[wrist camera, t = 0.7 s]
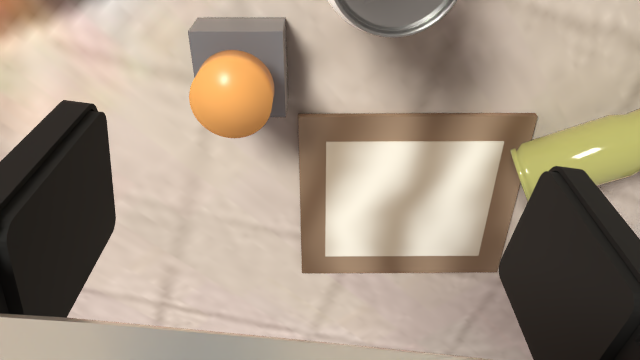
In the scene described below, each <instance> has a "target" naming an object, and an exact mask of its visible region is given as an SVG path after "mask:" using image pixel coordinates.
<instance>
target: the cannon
mask: <svg viewBox="0 0 640 360" xmlns="http://www.w3.org/2000/svg"><path fill="white" fill-rule="evenodd" d="M510 151H511V155H512V158H513V161H514V164H515V167H516V170H517V173H518V176H519V179H520V182H521V185H522V187H523V190H524V193H525V196H526V198H527V201H529V199H530V197H531V194H532V192H533V190H534V188H535V186H536V184H537V182H538V179H539V177H540V176H541V174H542V173H543V172H545V171H549V170H550V169H551V168H552V167H554V166H561V167H568V168H576V169H582V170H584V171H585V172H586V173H587V174H588V176H589V177H590V178H591V179H592V181H593V182H594V183H595V184H596V186H598V185H601V184H605V183H609V182H612V181H616V180H619V179H623V178H627V177H630V176H633V175H634V174H636V173H637V172H639V171H640V109H637V110H634V111H632V112H629V113H627V114H624V115H608V116H604V117H601V118H598V119H595V120H592V121H589V122H586V123H583V124H580V125H577V126H574V127H570V128H567V129H564V130H561V131H558V132H555V133H552V134H549V135H546V136H543V137H540V138H537V139H533V140H530V141H527V142H524V143H521V145H520V146H519V148H518V149H517V151H516V148H513V149H510Z"/></svg>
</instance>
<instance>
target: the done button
mask: <svg viewBox="0 0 640 360" xmlns="http://www.w3.org/2000/svg"><path fill="white" fill-rule="evenodd" d="M273 97H274V82H273V78H272V76H271V73H270V71H269V70H268V68H267V67H266V66H265V64H264V63H263V62H262V61H260V60H259V59H258V58H257V57H255V56H253V55H251V54H249V53H247V52H244V51H239V50H225V51H221V52H218V53H215V54H214V55H212V56H210V57H209V58H208V59H207V60H206V61H205V62H204V63H203V64H202V66H201V67H200V69H199V71H198V73H197V75H196V77H195V79H194V80H193V82H192V85H191V88H190V94H189V99H190V105H191V109H192V111H193V113H194V115H195V117H196V118H197V120H198V121H199V122H200V123H201V124H202V125H203V126H204V127H205V128H206V129H208V130H209V131H211V132H213V133H214V134H217V135H219V136H223V137H228V138H241V137H246V136H249V135H251V134H254V133H255V132H257V131H258V130H260V129H261V128H262V127H263V126H264V125H265V123H266V122H267V120H268V118H269V116H270V113H271V109H272V103H273Z"/></svg>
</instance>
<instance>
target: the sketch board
mask: <svg viewBox="0 0 640 360" xmlns="http://www.w3.org/2000/svg"><path fill="white" fill-rule="evenodd" d="M536 120H537V115H536V114H535V113H406V114H298V129H299V169H300V209H301V249H302V273H442V272H497V270H498V267H499V263H500V259H501V255H502V251H503V247H504V243H505V240H506V236H507V232H508V228H509V224H510V220H511V217H512V213H513V209H514V205H515V201H516V197H517V193H518V190H519V186H520V179H519V176H518V173H517V170H516V167H515V164H514V161H513V158H512V155H511V151H510V149H513V148H516V151H517V149H518V148H519V146H520V145H521V143H524V142H527V141H530V140H531V139H532V136H533V132H534V128H535V124H536Z"/></svg>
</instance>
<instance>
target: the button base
mask: <svg viewBox="0 0 640 360" xmlns="http://www.w3.org/2000/svg"><path fill="white" fill-rule="evenodd" d="M188 35H189V42H190V49H191V56H192V63H193V70H194V77H196V75H197V73H198V71H199V69H200V67H201V66H202V64H203V63H204V62H205V61H206V60H207V59H208V58H209V57H210V56H212V55H214V54H215V53H218V52H221V51H225V50H239V51H244V52H247V53H249V54H251V55H253V56H255V57H257V58H258V59H259V60H260V61H262V62H263V63H264V64H265V66H266V67H267V68H268V70H269V71H270V73H271V76H272V78H273V82H274V97H273V103H272V109H271V113H270V116H269V117H286V112H287V103H288V83H287V55H286V28H285V18H197V20H196V21H195V22H194V24H193V25H192V27H191V28H190V30H189V31H188Z"/></svg>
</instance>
